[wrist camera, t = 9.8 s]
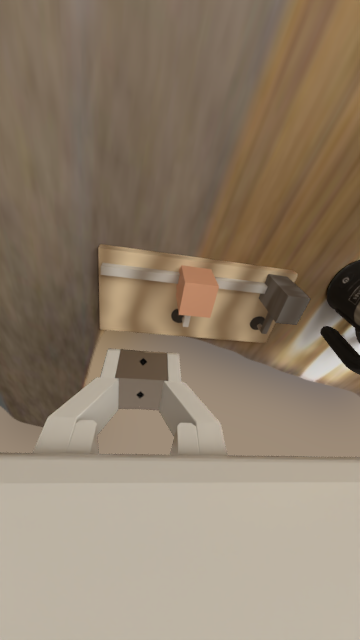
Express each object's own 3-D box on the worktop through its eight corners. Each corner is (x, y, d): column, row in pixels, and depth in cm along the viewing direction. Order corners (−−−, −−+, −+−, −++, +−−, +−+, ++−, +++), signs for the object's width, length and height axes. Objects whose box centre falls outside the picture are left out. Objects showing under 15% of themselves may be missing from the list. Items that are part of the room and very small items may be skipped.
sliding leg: (209, 265, 33) (219, 286, 28) (196, 320, 38) (202, 345, 33) (180, 262, 32) (185, 282, 27) (170, 317, 37) (173, 343, 32)
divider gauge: (293, 270, 36) (323, 296, 30) (262, 337, 44) (281, 370, 37) (100, 244, 32) (86, 268, 25) (101, 323, 39) (90, 358, 33)
